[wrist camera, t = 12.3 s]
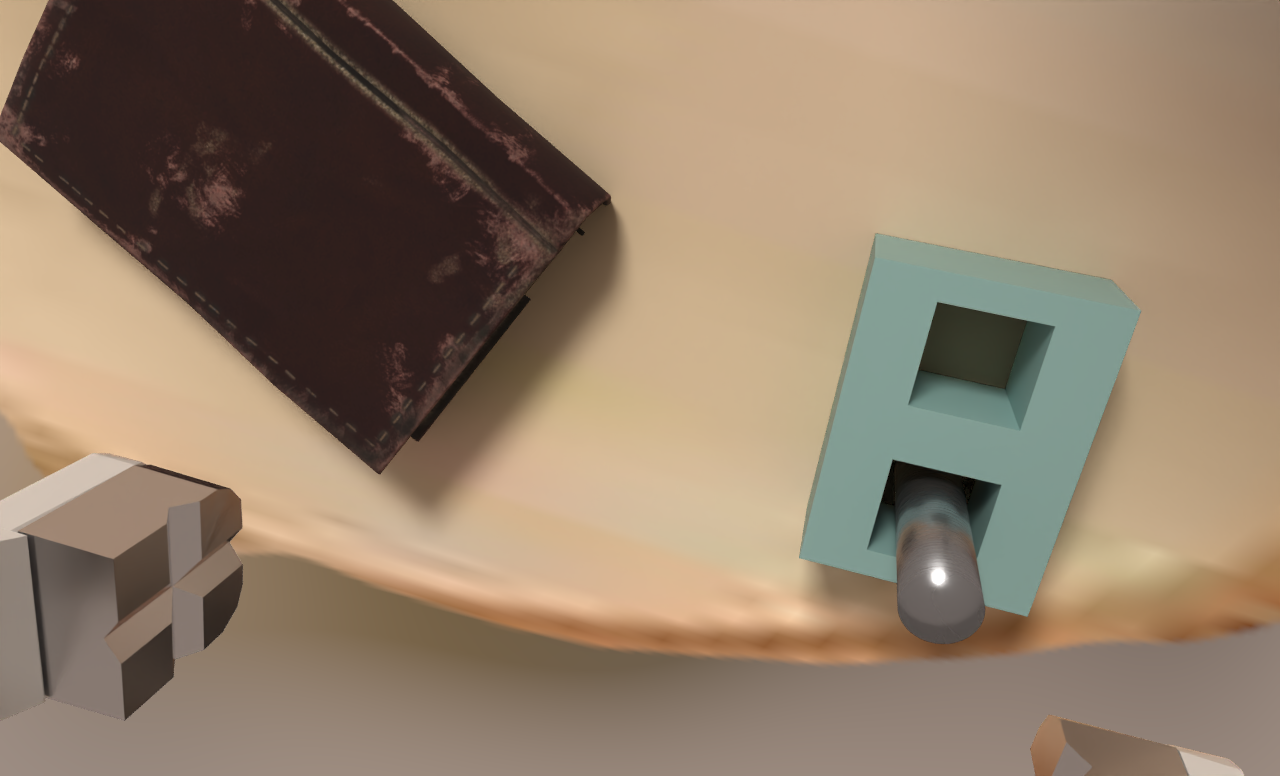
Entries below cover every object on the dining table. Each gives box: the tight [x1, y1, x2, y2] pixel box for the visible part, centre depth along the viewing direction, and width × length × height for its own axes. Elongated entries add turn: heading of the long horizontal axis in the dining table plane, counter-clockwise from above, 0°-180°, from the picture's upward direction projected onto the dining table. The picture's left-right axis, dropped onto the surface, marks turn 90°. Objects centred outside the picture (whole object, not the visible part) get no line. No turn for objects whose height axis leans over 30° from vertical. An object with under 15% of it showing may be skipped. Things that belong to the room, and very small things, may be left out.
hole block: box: [799, 234, 1141, 617], centre depth 41 cm, size 14×10×5 cm
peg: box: [894, 460, 985, 644], centre depth 39 cm, size 3×3×12 cm
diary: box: [0, 0, 611, 474], centre depth 45 cm, size 19×25×5 cm
